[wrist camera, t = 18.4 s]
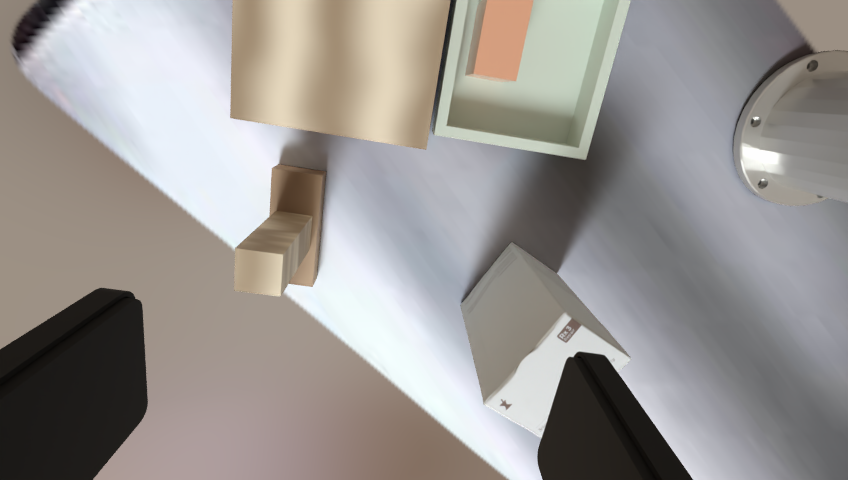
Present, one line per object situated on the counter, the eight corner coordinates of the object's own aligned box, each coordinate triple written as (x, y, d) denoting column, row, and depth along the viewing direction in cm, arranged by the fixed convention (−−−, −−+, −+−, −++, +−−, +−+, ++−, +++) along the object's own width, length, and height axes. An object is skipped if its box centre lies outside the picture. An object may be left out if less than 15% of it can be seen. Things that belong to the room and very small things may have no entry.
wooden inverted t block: (326, 171, 37) (294, 203, 27) (316, 277, 40) (285, 342, 30) (279, 164, 37) (228, 193, 27) (273, 271, 40) (225, 335, 30)
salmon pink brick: (477, 5, 33) (516, 12, 33) (464, 75, 34) (501, 82, 35) (488, -9, 28) (533, 0, 28) (473, 73, 30) (516, 81, 30)
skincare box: (504, 333, 43) (550, 453, 29) (455, 302, 42) (478, 411, 28) (561, 269, 41) (639, 364, 27) (511, 234, 40) (567, 314, 26)
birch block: (459, -81, 32) (468, -111, 27) (424, 141, 37) (426, 149, 32) (262, -122, 30) (235, -161, 26) (254, 114, 36) (230, 118, 31)
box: (620, -32, 33) (643, -46, 30) (570, 153, 37) (585, 159, 34) (464, -64, 32) (470, -82, 29) (431, 130, 36) (434, 134, 33)
